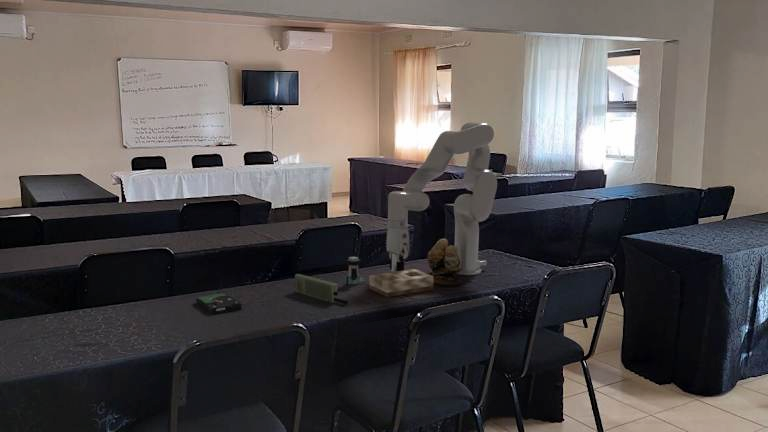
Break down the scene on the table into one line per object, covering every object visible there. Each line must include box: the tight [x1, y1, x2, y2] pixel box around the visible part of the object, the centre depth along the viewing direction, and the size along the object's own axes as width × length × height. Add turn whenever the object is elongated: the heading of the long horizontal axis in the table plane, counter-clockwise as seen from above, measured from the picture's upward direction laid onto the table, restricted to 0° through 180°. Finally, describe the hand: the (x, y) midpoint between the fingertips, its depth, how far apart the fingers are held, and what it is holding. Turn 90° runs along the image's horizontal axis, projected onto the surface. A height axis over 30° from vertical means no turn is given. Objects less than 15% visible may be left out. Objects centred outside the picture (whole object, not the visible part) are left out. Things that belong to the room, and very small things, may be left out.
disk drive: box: [196, 292, 243, 315], centre depth 219 cm, size 10×3×15 cm
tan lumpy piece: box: [427, 238, 462, 288], centre depth 253 cm, size 18×12×17 cm, turn 37°
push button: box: [345, 256, 364, 286], centre depth 249 cm, size 7×5×10 cm
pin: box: [391, 252, 402, 272], centre depth 258 cm, size 4×4×10 cm
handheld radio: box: [294, 273, 349, 305], centre depth 230 cm, size 7×3×25 cm
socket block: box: [368, 268, 434, 298], centre depth 243 cm, size 20×12×5 cm, turn 122°
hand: (396, 269), depth 258 cm, fingers closed on pin, 4 cm apart
